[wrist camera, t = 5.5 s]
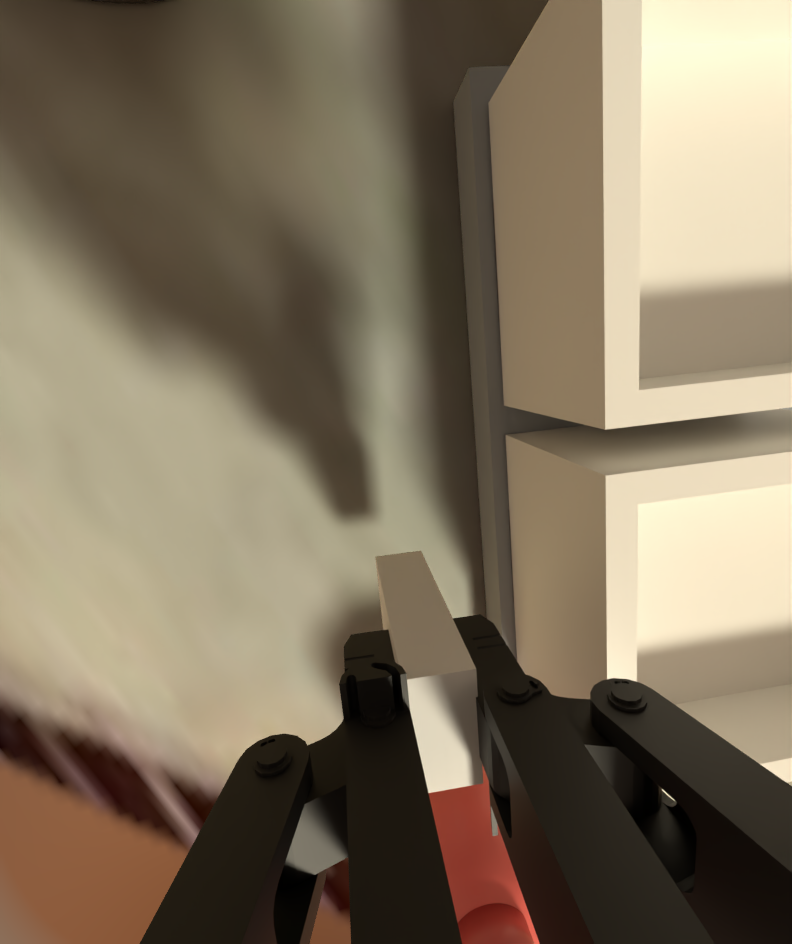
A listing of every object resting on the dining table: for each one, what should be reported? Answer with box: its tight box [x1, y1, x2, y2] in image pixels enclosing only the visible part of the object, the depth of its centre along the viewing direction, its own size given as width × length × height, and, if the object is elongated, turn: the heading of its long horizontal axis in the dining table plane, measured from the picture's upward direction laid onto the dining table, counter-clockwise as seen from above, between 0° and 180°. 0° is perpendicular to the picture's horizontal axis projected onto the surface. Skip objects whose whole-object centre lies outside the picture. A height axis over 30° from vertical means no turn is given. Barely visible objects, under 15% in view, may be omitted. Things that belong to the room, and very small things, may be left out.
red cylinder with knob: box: [429, 764, 540, 944], centre depth 18 cm, size 5×5×8 cm
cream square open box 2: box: [506, 409, 792, 801], centre depth 15 cm, size 9×9×6 cm
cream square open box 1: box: [488, 0, 792, 430], centre depth 13 cm, size 9×9×6 cm
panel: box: [453, 65, 792, 660], centre depth 19 cm, size 15×26×3 cm, turn 6°
